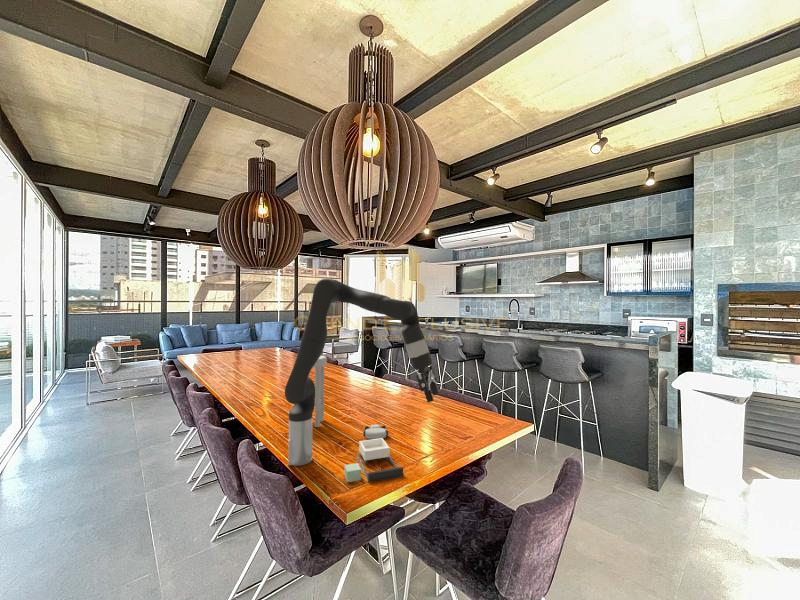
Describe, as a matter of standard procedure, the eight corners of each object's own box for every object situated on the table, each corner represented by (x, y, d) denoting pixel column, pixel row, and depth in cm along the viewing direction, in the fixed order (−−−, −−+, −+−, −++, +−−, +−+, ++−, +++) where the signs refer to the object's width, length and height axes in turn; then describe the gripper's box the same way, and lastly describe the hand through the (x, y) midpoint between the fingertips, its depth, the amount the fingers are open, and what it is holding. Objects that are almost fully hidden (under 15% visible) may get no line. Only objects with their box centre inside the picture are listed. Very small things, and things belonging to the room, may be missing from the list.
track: (368, 485, 116) (368, 474, 116) (355, 458, 137) (355, 448, 137) (403, 479, 120) (403, 468, 120) (385, 453, 141) (385, 443, 141)
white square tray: (364, 465, 128) (364, 451, 128) (359, 454, 137) (359, 441, 137) (389, 461, 131) (389, 447, 131) (382, 451, 141) (382, 437, 141)
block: (346, 486, 116) (346, 471, 116) (344, 478, 121) (344, 465, 121) (361, 483, 118) (361, 469, 118) (358, 476, 123) (358, 462, 123)
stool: (291, 429, 168) (292, 359, 168) (300, 418, 183) (300, 355, 183) (322, 429, 168) (323, 359, 168) (328, 418, 184) (328, 354, 184)
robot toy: (362, 432, 166) (362, 443, 151) (362, 423, 166) (362, 432, 151) (387, 431, 167) (389, 442, 152) (387, 422, 167) (389, 431, 153)
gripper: (414, 353, 127) (428, 395, 126) (403, 360, 114) (418, 406, 112) (432, 348, 125) (447, 390, 123) (423, 354, 112) (439, 401, 110)
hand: (433, 398), depth 118 cm, fingers open, 8 cm apart
